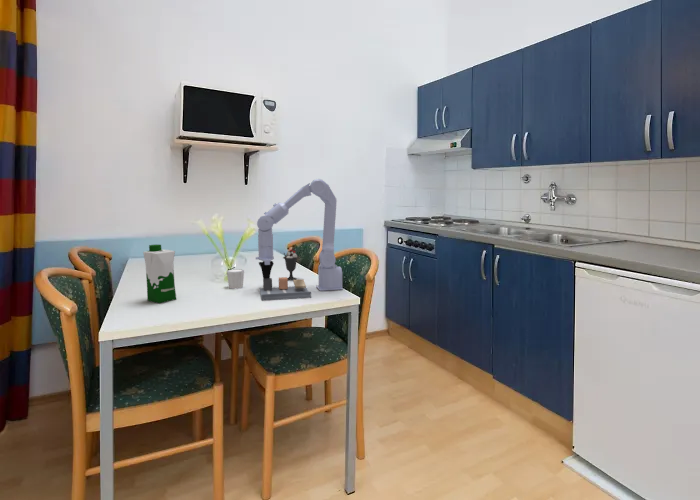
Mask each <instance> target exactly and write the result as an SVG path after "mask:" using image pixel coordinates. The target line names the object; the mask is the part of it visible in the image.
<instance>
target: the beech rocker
mask: <svg viewBox="0 0 700 500" xmlns="http://www.w3.org/2000/svg"><path fill="white" fill-rule="evenodd" d="M292 281H293V286H295V288H307V285H306V282H305V279H303V278H300V279H296V280H292Z"/></svg>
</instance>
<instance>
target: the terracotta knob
mask: <svg viewBox="0 0 700 500" xmlns="http://www.w3.org/2000/svg"><path fill="white" fill-rule="evenodd" d="M287 278H288V277H287V276H285V277H284V276H283V277H278V287H279V289H288V287H289V286H288V285H289V283H288V281H289V280H288V279H287Z"/></svg>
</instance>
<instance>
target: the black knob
mask: <svg viewBox="0 0 700 500" xmlns="http://www.w3.org/2000/svg"><path fill="white" fill-rule="evenodd" d="M262 285H263V286H262V288H263V289H264V290H272V288H273V278H272V277H270V278H263V277H262Z"/></svg>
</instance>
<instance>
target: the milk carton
mask: <svg viewBox="0 0 700 500" xmlns="http://www.w3.org/2000/svg"><path fill="white" fill-rule="evenodd" d="M148 248H149V250H146V251H143V252H142V253H143V258H144V264H145V275H146V293H147V295H146V296H147V297H146V298H147V302H148V301H149V302H151V301H152V302H153V303H156V302H157V304H163V303H166V302H170V301H174V300H177V294H176V286H175V270H174V269H175V267H174V261H175V253H176V251H175V250H171V249H162V244H149V245H148Z"/></svg>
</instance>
